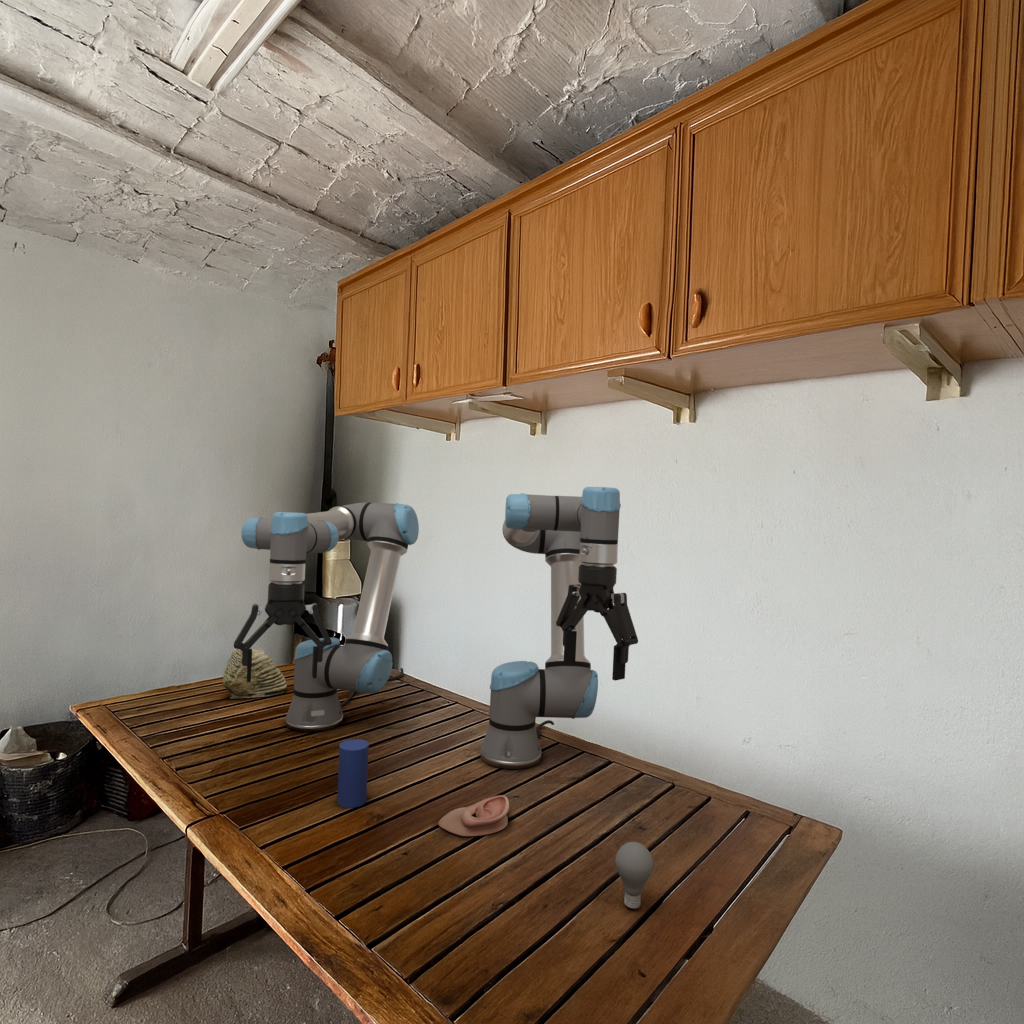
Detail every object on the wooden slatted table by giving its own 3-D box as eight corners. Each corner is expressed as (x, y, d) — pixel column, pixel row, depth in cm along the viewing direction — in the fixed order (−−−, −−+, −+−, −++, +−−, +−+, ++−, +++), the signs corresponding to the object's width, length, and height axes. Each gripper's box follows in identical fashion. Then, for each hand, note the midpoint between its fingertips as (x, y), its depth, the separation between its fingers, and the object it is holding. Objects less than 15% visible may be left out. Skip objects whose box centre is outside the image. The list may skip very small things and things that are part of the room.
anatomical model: (433, 811, 121) (451, 785, 132) (432, 831, 121) (450, 804, 133) (501, 821, 119) (513, 794, 130) (500, 842, 119) (512, 813, 130)
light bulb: (609, 894, 104) (612, 834, 104) (645, 894, 105) (647, 834, 105) (618, 918, 98) (621, 854, 98) (656, 918, 99) (659, 854, 99)
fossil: (218, 695, 195) (220, 647, 195) (278, 685, 208) (279, 640, 207) (228, 703, 189) (230, 653, 188) (289, 692, 201) (290, 645, 201)
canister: (363, 792, 136) (365, 737, 136) (369, 805, 131) (371, 748, 131) (334, 797, 134) (337, 741, 134) (340, 810, 129) (342, 751, 128)
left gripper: (224, 584, 131) (219, 686, 131) (347, 584, 141) (342, 679, 141) (224, 580, 138) (220, 677, 138) (342, 580, 148) (337, 671, 148)
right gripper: (542, 558, 133) (537, 658, 134) (633, 572, 114) (628, 689, 114) (568, 557, 138) (563, 654, 138) (660, 571, 118) (654, 683, 119)
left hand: (282, 678), depth 139 cm, fingers open, 13 cm apart
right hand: (592, 670), depth 126 cm, fingers open, 13 cm apart
